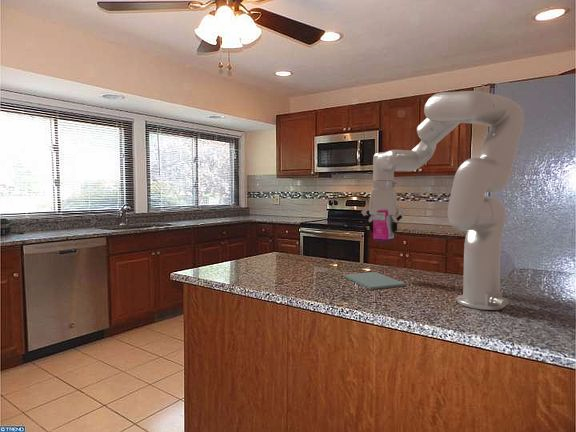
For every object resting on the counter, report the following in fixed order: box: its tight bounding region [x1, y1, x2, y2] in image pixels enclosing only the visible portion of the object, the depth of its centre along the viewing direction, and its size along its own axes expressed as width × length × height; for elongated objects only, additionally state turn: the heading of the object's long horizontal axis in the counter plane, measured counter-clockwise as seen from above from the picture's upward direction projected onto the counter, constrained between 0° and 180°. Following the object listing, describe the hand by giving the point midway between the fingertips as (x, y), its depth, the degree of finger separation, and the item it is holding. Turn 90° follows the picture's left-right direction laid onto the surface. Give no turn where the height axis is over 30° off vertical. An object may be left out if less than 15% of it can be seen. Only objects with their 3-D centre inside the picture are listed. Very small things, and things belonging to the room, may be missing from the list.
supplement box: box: [372, 210, 395, 242], centre depth 145 cm, size 6×6×12 cm
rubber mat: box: [343, 271, 407, 290], centre depth 141 cm, size 20×14×1 cm
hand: (383, 232), depth 145 cm, fingers closed on supplement box, 7 cm apart
